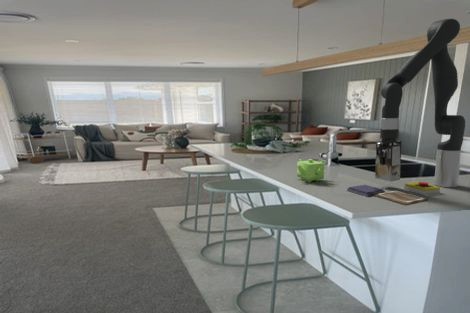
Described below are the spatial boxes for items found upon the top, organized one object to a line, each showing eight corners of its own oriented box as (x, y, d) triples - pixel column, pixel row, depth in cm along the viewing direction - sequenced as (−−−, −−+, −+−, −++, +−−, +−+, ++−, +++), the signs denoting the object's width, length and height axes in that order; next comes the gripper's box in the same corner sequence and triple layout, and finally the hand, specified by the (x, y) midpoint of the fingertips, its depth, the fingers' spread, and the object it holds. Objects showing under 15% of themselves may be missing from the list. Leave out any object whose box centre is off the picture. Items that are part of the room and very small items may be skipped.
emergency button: (427, 187, 131) (399, 179, 145) (427, 197, 132) (399, 188, 146) (444, 185, 133) (415, 178, 148) (443, 195, 134) (414, 187, 148)
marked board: (396, 191, 138) (397, 190, 138) (427, 200, 126) (428, 198, 126) (374, 196, 133) (374, 194, 132) (404, 205, 120) (404, 203, 120)
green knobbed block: (298, 176, 173) (298, 156, 171) (324, 178, 168) (325, 157, 167) (294, 182, 159) (294, 160, 157) (323, 184, 154) (323, 162, 153)
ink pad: (364, 187, 146) (364, 184, 146) (384, 193, 137) (385, 189, 136) (347, 190, 142) (347, 187, 142) (366, 196, 132) (366, 192, 132)
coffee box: (400, 180, 143) (402, 145, 140) (391, 182, 140) (393, 146, 137) (383, 176, 151) (384, 143, 148) (374, 178, 148) (375, 144, 146)
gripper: (393, 126, 148) (391, 161, 151) (371, 128, 142) (370, 164, 145) (407, 127, 141) (405, 163, 144) (385, 129, 135) (383, 167, 138)
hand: (387, 163), depth 144 cm, fingers closed on coffee box, 6 cm apart
